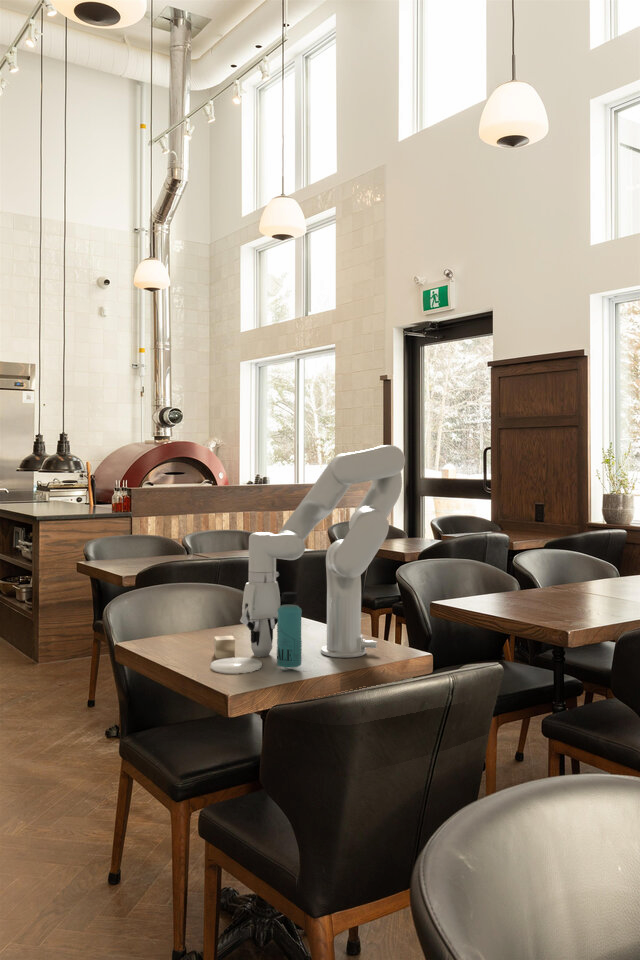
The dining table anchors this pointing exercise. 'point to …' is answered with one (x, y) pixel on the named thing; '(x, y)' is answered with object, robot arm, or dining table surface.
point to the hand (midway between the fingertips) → (261, 643)
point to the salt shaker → (263, 640)
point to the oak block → (224, 646)
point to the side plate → (235, 665)
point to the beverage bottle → (289, 632)
